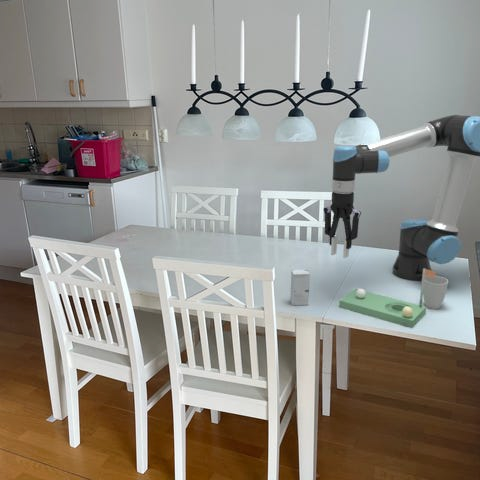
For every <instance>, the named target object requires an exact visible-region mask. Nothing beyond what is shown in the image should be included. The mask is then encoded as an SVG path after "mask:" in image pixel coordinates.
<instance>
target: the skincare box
mask: <svg viewBox="0 0 480 480" xmlns="http://www.w3.org/2000/svg"><path fill="white" fill-rule="evenodd" d="M310 277H311V273H310V272H309V270H308V269H291V272H290V298H289V300H290V304H291V303H292V304H291V306H308V305H309V294H310ZM307 304H308V305H307Z"/></svg>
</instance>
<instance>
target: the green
mask: <svg viewBox="0 0 480 480" xmlns="http://www.w3.org/2000/svg"><path fill="white" fill-rule="evenodd" d="M358 289H359V288H355V289H353V290H352V291H351V292H349V293H348V294H346V295H345V296H344V297H342V298H340V299H339V301H338V307H339V308H341V307H342V309H345V310H349V311H352V312H356V313H359V314H362V315H367V316H370V317H373V318H377V319H380V320H383V321H387V322H390V323H395V324H398V325H402V326H404V327H408V328H413V327H414V326H415V325H416V324H417V323H418V322H419V321H420V320H421V319H422V318H423V317H424V316H425V315H426V313H427V307H426V306H425V305H422V307H421V308H420V307H419V304H417V303H413V302H409V301H405V300H402V299H397V298H393V297H389V296H387V295H382V294H378V293H374V292H370V291H366V290H365V292H366V295H365V297H364V298H358V297H357V295H356V291H357V290H358ZM406 306H408V307H411V308H412V309H413V314H412V316H410V317H406V316H404V315H403V313H402V310H403V308H404V307H406Z"/></svg>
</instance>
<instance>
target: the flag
mask: <svg viewBox="0 0 480 480" xmlns="http://www.w3.org/2000/svg"><path fill="white" fill-rule="evenodd" d="M425 276H427V277H431V278H435V276H436V270H432V269H431V270H427V269H425V268H423V275H422V280H421V285H420V286H421V287H420V293H419V294H420V295H419V296H420V297H419V304H418V305H419V307H420V308H421V307H422V306H423V299H424V298H423V289H424V280H425Z"/></svg>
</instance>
